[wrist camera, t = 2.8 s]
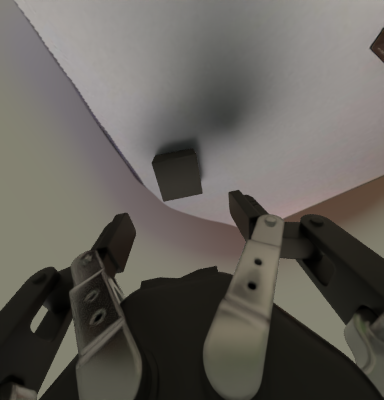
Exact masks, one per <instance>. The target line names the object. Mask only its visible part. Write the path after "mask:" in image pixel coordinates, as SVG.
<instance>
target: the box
mask: <svg viewBox="0 0 384 400" xmlns="http://www.w3.org/2000/svg"><path fill="white" fill-rule="evenodd" d="M372 50H373V51H374V52H375V53H376V54H377V55H378V56H379V57H380V58H381V59H382V61H383V62H384V30H383V31H382V33H381V34H380V36H379V37H378V38H377V40H376V41H375V43H374V44H373V46H372Z"/></svg>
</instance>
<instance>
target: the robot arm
mask: <svg viewBox="0 0 384 400" xmlns="http://www.w3.org/2000/svg"><path fill="white" fill-rule="evenodd" d="M229 208H230V214H231V216H232V218H233V220H234V222H235V223H236V225H237V227H238V229H239V230H240V232H241V234H242V236H243V237H244V239H245V241H246V244H245V246H244V249H243V251H242V254H241V257H240V259H239V262H238V264H237V267H236V270H235V272H234V275H231V274H228V273H224V272H218V270H217V266H214V267H209V268H204V269H199V270H196V271H194V272H192V273H190V274H188V275H185V276H183V277H181V278H161V277H160V278H155V279H150V280H145V281H142V282H141V287H140V289H138V290H136V291H135V292H133V293H131V294H130V295H129V296H128V297H126V298H125V296H124V294H123V292H122V290H121V288H120V286H119V284H118V282H117V280H116V279H115V274H116V273H121V272H123V271H124V268H125V265H126V262H127V259H128V256H129V253H130V251H131V248H132V245H133V242H134V239H135V236H136V230H135V228H134V225H133V223H132V221H131V219H130V217H129V215H128V213H123V214H118V215H116V216H115V217H114V219H113V221H112V222H110V223H109V224H108V225H107V226H106V227H105V228H104V230H103V232H102V233H101V234H100V236H99V238H98V239H97V241H96V242H95V244H94V245H93V247H92V248H91V250H89V251H86V252H84V253H82V254H81V255H79V256H78V257H77V258H76V259H75V260H74V261H73V262H72V264H71V266H70V267H68V268H66V269H63V270H61V271H59V272H58V271H57V270H56V269H55V268H54V267H47V268H44V269H42V270H40V271H38V272H37V273H35V274H34V275H32V276H31V277H30V278H29V279H28V280H27V281H26V282H25V284H23V285H22V287H21V288H20V289H19V290H18V291H17V292H16V294H15V295H14V296H13V297H12V298H11V300H10V301H9V302H8V303H7V304H6V305H5V307H4V308H3V309H2V310H1V311H0V400H37V394H38V392H39V389H40V387H41V385H42V383H43V381H44V379H45V377H46V374H47V372H48V370H49V368H50V366H51V364H52V362H53V359H54V357H55V355H56V353H57V351H58V349H59V347H60V344H61V342H62V340H63V338H64V336H65V334H66V332H67V329H68V327H69V325H70V323H71V321H72V319H73V321H74V327H75V333H76V340H77V347H78V354H77V355H76V356H75V358H74V359H73V360H72V361H71V362H70V363H69V365H68V366H67V367H66V368H65V369H64V371H63V372H62V373H61V374H60V375H59V377H58V378H57V379H56V380H55V381H54V383H53V384H52V385H51V386H50V387H49V388H48V389H47V391H46V392H45V393H44V394H43V395H42V397H41V398H40V399H39V400H384V258H382V257H381V256H379V255H378V254H377V253H375V252H374V251H373V250H371V249H370V248H368V247H367V246H366V245H364V244H363V243H361V242H360V241H359V240H357V239H356V238H354V237H353V236H352V235H350V234H349V233H348V232H346V231H345V230H343V229H342V228H341V227H339V226H338V225H336V224H335V223H334V222H332V221H331V220H329V219H328V218H326V217H323V216H320V215H314V214H309V215H305V216H303V217H301V220H300V222H284V220H283V219H282V218H281V217H279V216H276V215H272V214H268V213H267V212H266V211H265V209H264V208H263V207H262V206H261V205H259V203H258V202H256V200H255V199H254V198H253V197H251V196H249V195H243V194H242V193H241V192H240V191H239V190H236V191H231V192H229ZM280 258H287V259H296V261H297V262H298V263H299V265H300V266H301V267H302V268H303V270H304V271H305V272H306V274H307V275H308V276H309V278H310V279H311V280H312V282H313V283H314V284H315V285H316V287H317V288H318V289H319V290H320V292H321V293H322V295H323V296H324V297H325V299H326V300H327V301H328V302H329V304H330V305H331V306H332V308H333V309H334V310H335V312H336V313H337V314H338V316H339V317H340V318H341V319H342V321H343V322H344V323H345V325H346V327H345V329H344V336H345V340H346V342H347V344H348V346H349V347H350V349H351V351H352V353H353V355H354V357H355V361H356V364H355V363H354V362H353V361H352V360H351V359H350V358H349V357H347V356H346V355H345V354H344V353H342V352H341V351H340V350H338V349H337V348H336V347H334V346H333V345H331V344H330V343H329V342H327V341H326V340H325V339H323V338H322V337H320V336H319V335H318V334H316V333H315V332H313V331H312V330H311V329H309V328H308V327H307V326H305V325H304V324H302V323H301V322H299V321H298V320H297V319H296V318H294V317H293V316H291V315H290V314H289V313H287V312H286V311H284V310H283V309H282V308H280V307H279V306H277V305H276V304H275V303H273V299H274V293H275V286H276V279H277V273H278V266H279V259H280ZM42 305H43V306H44V307H46V308H47V309H48V312H47V313H46V315H45V317H44V318H43V320H42V322H41V323H40V325H39V326H38V328H37V330H36V331H35V333H33V332H32V331H31V329H30V325H31V322H32V320H33V318H34V316H35V315H36V314H37V312H38V311H39V309H40V308H41V306H42Z"/></svg>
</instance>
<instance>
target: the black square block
mask: <svg viewBox="0 0 384 400" xmlns="http://www.w3.org/2000/svg"><path fill="white" fill-rule="evenodd" d="M152 165H153V169H154V172H155V175H156V178H157V182H158V185H159V188H160V191H161V195H162V198H163V201H169V200H174V199H179V198H183V197H188V196H193V195H198V194H202V187H201V180H200V174H199V167H198V161H197V155H196V153H195V151H194V149H193V148H190V149H185V150H180V151H175V152H170V153H166V154H161V155H156V156H155V157H154V159H153V161H152Z"/></svg>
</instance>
